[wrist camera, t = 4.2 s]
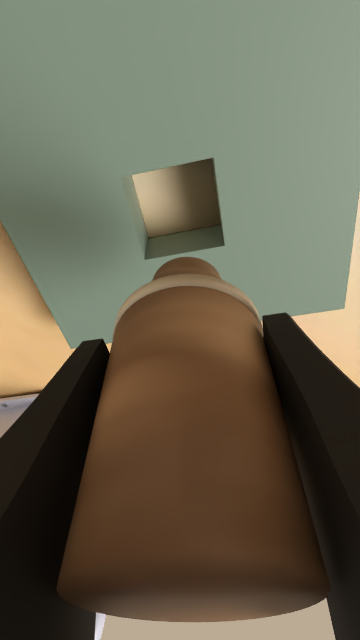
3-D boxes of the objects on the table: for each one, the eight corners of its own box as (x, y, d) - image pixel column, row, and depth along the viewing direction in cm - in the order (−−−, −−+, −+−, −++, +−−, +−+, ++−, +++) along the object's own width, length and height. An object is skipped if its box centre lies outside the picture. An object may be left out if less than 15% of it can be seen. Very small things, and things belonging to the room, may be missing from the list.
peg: (145, 340, 14) (111, 625, 7) (108, 246, 11) (-6, 566, 4) (252, 322, 14) (326, 618, 7) (241, 218, 11) (347, 543, 4)
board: (80, 322, 22) (70, 348, 21) (-118, -79, 12) (-179, -105, 10) (328, 283, 20) (344, 308, 18) (376, -250, 9) (425, -328, 8)
